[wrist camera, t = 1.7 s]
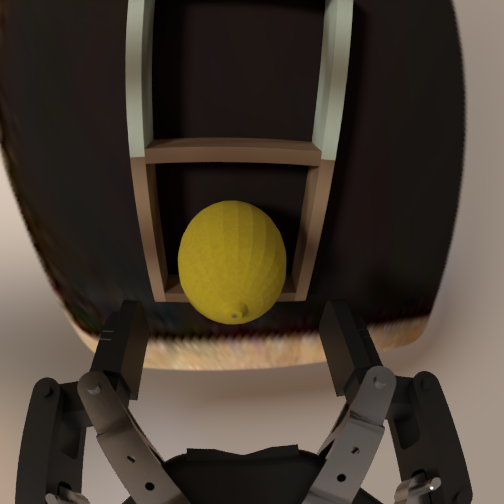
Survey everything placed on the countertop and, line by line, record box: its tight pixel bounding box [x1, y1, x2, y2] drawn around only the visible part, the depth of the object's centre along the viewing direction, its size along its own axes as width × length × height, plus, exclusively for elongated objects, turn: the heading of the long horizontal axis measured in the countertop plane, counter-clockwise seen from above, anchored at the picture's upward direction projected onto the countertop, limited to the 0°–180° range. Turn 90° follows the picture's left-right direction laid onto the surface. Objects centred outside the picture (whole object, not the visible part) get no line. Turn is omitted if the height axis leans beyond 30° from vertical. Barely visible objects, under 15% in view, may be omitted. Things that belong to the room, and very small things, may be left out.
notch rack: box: [126, 0, 353, 302], centre depth 14 cm, size 20×11×2 cm, turn 177°
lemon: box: [178, 201, 286, 324], centre depth 15 cm, size 6×6×8 cm
